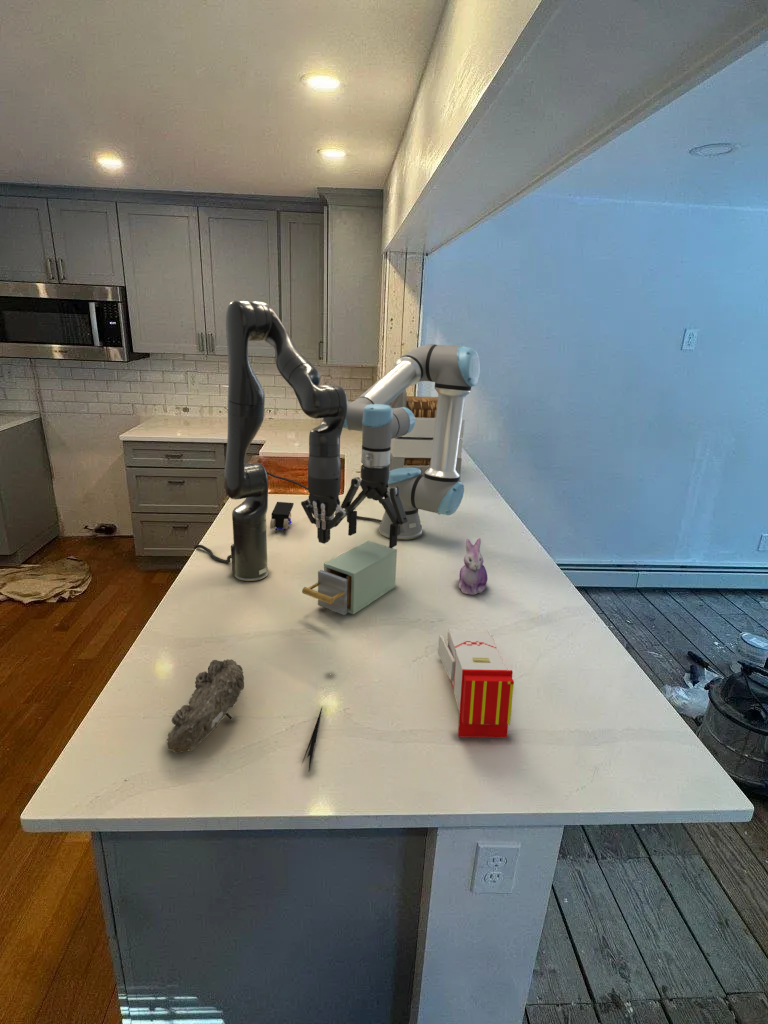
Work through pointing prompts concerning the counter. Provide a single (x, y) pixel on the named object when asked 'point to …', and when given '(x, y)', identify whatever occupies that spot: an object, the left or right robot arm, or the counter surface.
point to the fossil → (206, 705)
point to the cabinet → (366, 572)
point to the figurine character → (281, 516)
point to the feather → (313, 740)
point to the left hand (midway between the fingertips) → (323, 542)
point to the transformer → (418, 434)
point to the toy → (478, 682)
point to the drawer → (332, 591)
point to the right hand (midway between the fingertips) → (372, 540)
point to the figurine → (473, 570)
